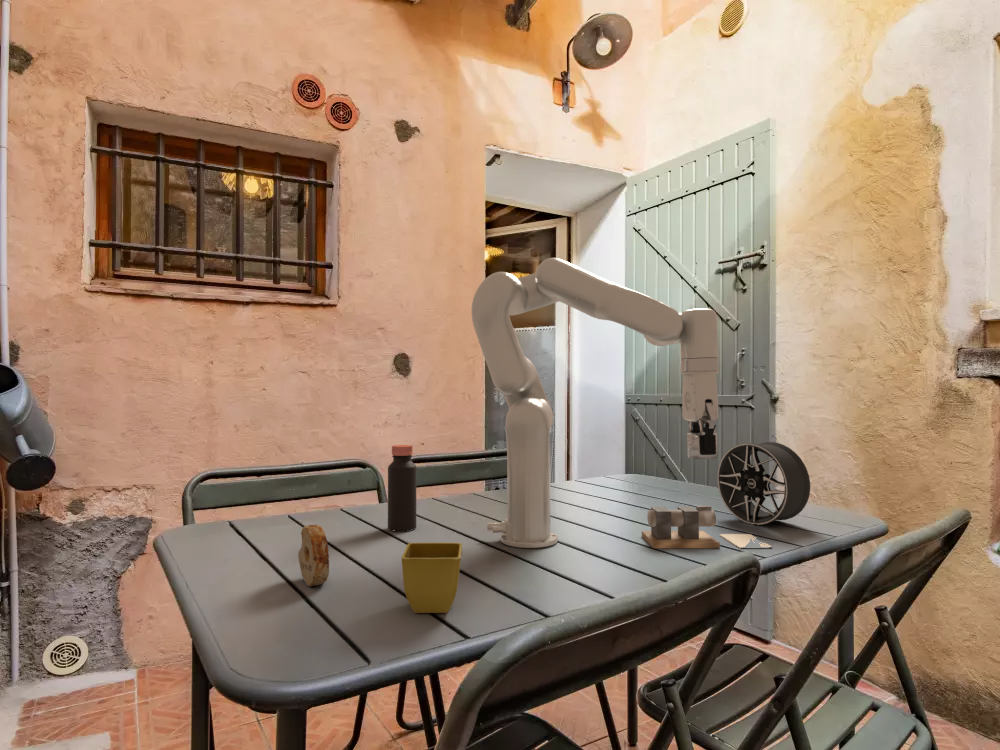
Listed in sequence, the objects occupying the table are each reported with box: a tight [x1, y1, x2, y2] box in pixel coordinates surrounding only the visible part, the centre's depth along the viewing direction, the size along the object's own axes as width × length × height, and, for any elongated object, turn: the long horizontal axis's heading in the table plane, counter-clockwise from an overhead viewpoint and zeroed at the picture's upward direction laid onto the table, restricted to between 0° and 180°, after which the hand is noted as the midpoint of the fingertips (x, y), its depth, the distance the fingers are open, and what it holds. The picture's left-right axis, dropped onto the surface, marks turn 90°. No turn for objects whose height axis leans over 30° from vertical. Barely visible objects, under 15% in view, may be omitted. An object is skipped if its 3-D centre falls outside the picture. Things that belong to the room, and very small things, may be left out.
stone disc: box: [297, 524, 330, 587], centre depth 103 cm, size 10×4×10 cm, turn 30°
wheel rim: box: [716, 441, 811, 526], centre depth 148 cm, size 20×9×20 cm, turn 30°
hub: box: [686, 432, 719, 460], centre depth 124 cm, size 6×6×5 cm
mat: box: [719, 533, 773, 549], centre depth 129 cm, size 7×11×1 cm, turn 0°
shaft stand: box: [641, 505, 721, 549], centre depth 129 cm, size 14×10×8 cm
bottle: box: [387, 444, 417, 532], centre depth 142 cm, size 7×7×20 cm
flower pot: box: [401, 542, 463, 614], centre depth 91 cm, size 9×9×9 cm
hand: (702, 452), depth 124 cm, fingers closed on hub, 6 cm apart
